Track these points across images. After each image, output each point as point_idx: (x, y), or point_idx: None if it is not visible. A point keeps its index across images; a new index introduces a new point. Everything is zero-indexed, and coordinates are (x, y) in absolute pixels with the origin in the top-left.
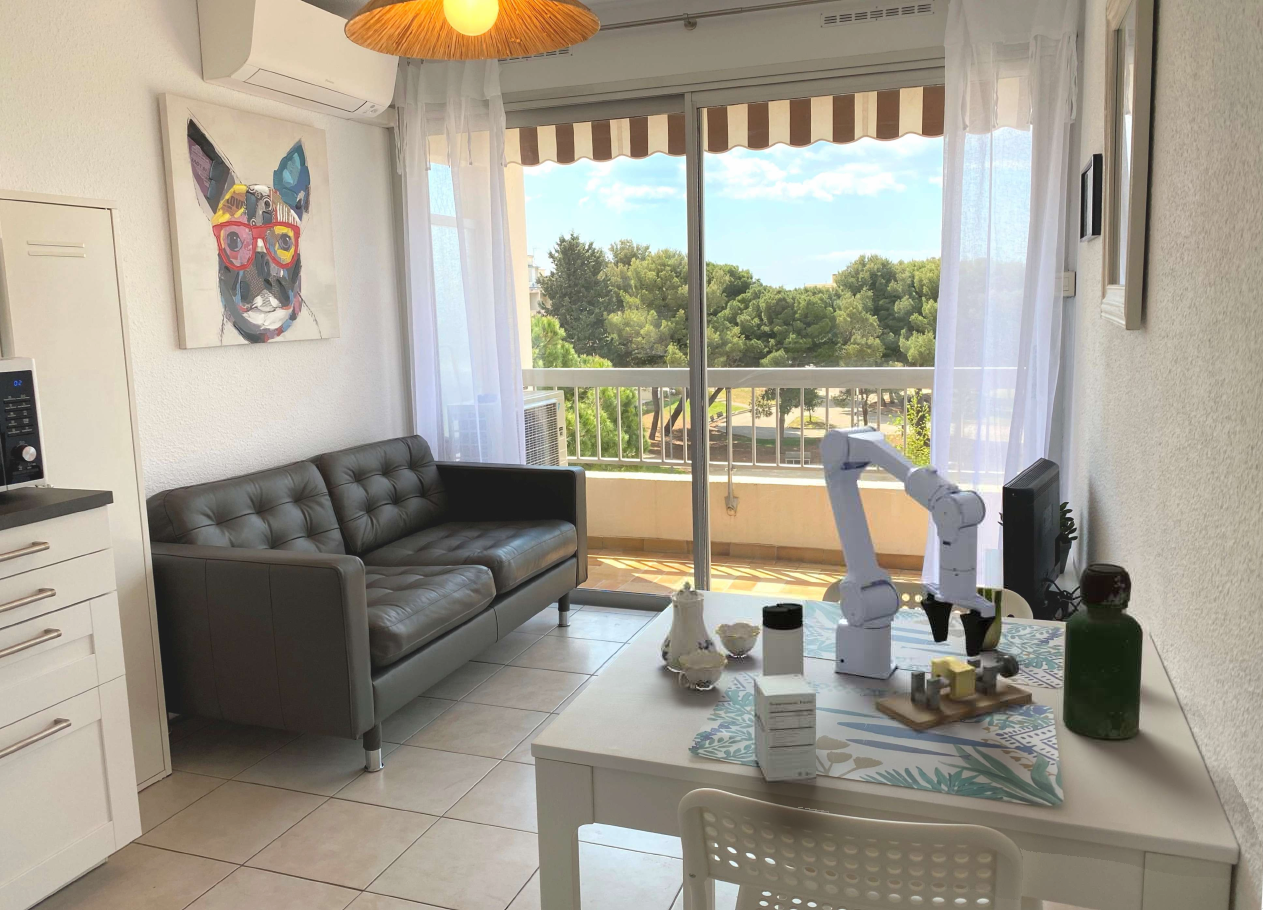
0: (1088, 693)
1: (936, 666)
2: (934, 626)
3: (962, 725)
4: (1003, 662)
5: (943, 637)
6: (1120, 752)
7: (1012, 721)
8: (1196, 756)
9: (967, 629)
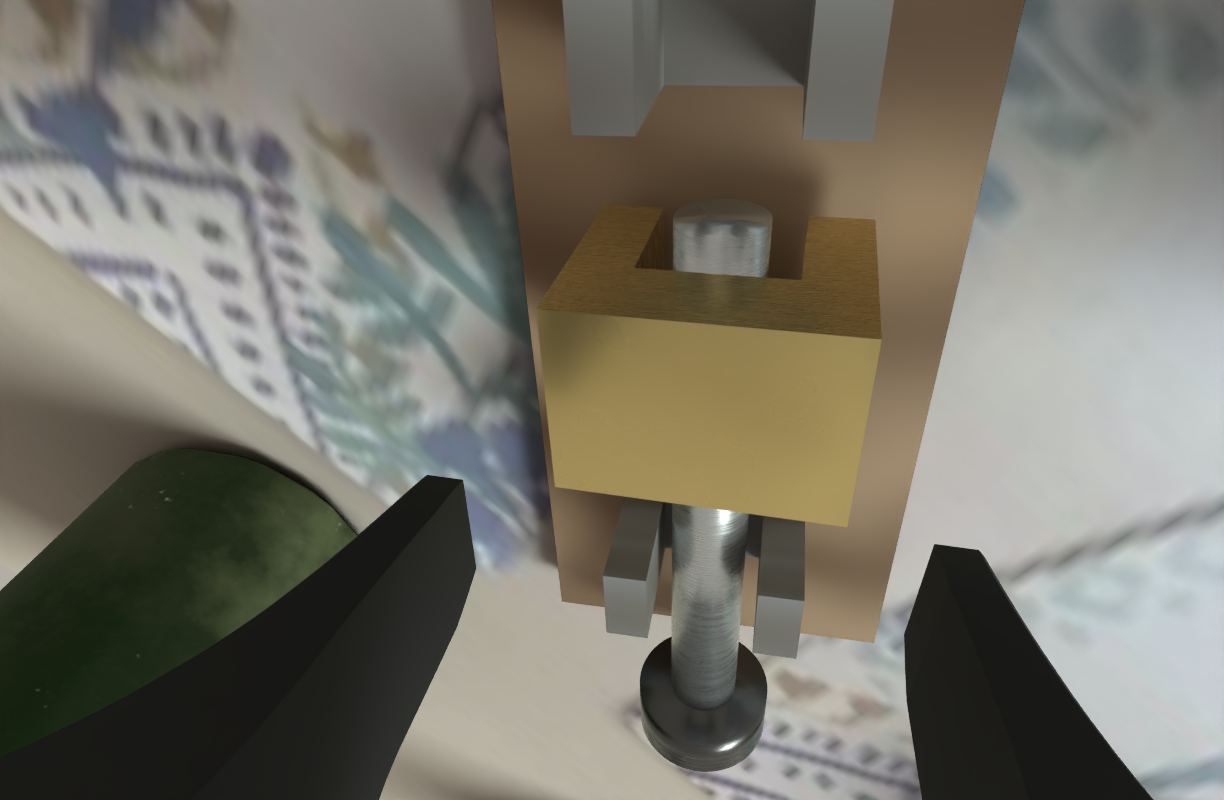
0: (13, 595)
1: (808, 312)
2: (991, 703)
3: (438, 57)
4: (699, 705)
5: (918, 644)
6: (36, 429)
7: (399, 340)
8: (6, 563)
9: (194, 698)
